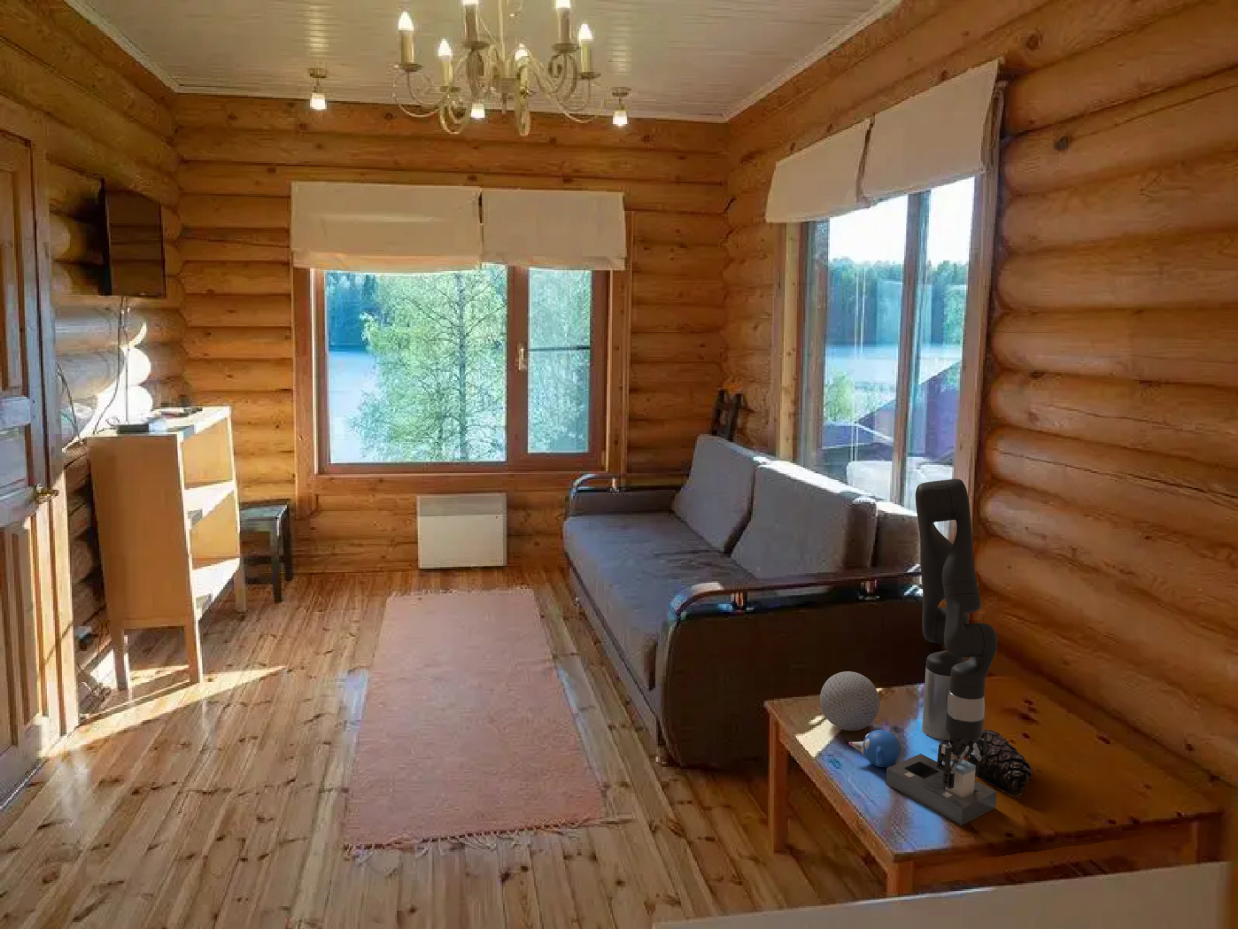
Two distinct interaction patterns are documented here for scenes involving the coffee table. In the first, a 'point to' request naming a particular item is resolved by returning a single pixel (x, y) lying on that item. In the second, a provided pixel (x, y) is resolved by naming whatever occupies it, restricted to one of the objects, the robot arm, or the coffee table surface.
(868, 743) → the blue mole toy
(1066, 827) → the coffee table surface
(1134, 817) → the coffee table surface
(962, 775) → the plug
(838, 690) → the decorative ball
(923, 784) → the panel
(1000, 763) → the pine cone
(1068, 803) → the coffee table surface
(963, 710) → the robot arm
